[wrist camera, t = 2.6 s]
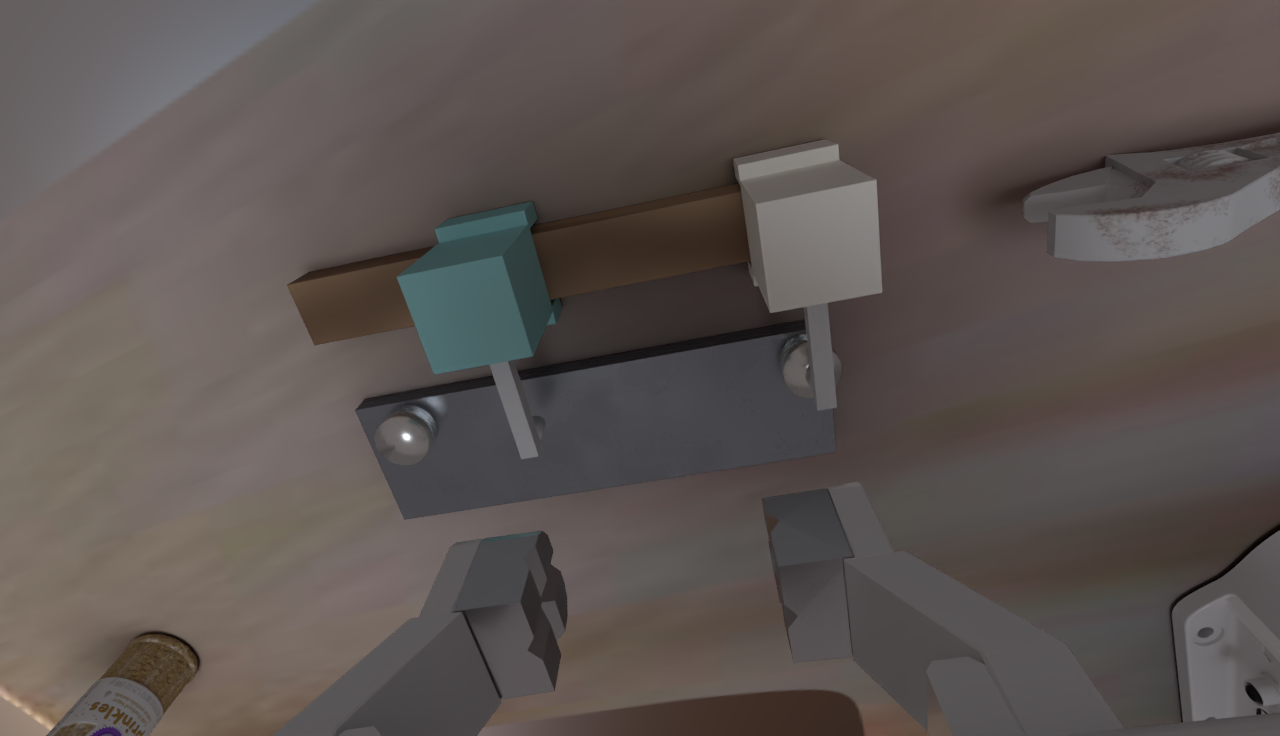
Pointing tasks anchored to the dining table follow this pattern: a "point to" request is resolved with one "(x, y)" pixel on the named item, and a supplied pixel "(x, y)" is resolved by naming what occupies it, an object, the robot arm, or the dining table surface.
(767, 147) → the dining table surface
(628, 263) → the rail
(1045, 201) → the wrench
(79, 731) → the sprinkles bottle
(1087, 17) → the dining table surface
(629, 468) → the bolt plate
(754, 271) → the fixed leg
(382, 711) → the robot arm
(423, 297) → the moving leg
